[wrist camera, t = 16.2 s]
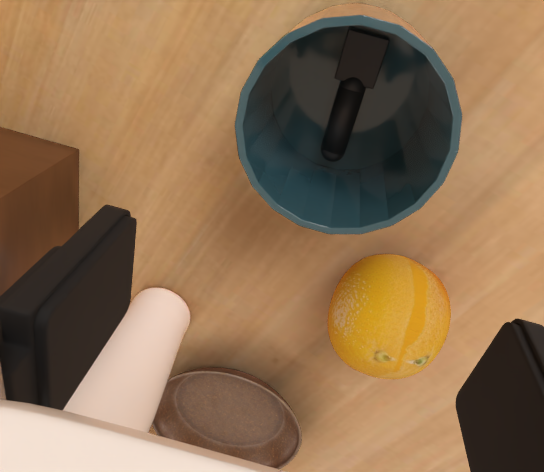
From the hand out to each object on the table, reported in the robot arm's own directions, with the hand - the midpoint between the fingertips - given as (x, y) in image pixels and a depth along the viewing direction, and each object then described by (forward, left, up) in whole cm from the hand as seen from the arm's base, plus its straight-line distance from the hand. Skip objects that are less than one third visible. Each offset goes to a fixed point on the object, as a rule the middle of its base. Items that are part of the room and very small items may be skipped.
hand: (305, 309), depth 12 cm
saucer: (+31, -2, -22) cm, 38 cm away
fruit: (+12, +7, -22) cm, 26 cm away
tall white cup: (+21, -10, -22) cm, 32 cm away
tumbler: (-1, 0, -21) cm, 21 cm away
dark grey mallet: (-1, 0, -21) cm, 21 cm away
